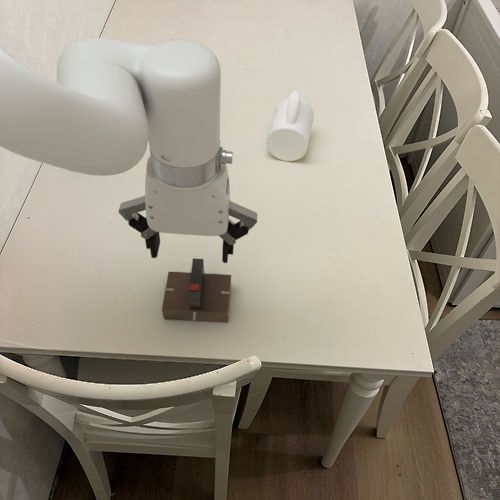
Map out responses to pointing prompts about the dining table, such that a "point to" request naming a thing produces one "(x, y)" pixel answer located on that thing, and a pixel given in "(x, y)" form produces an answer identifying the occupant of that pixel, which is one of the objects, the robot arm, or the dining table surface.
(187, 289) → the knob base block
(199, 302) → the bar knob
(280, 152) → the mug
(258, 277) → the dining table surface
